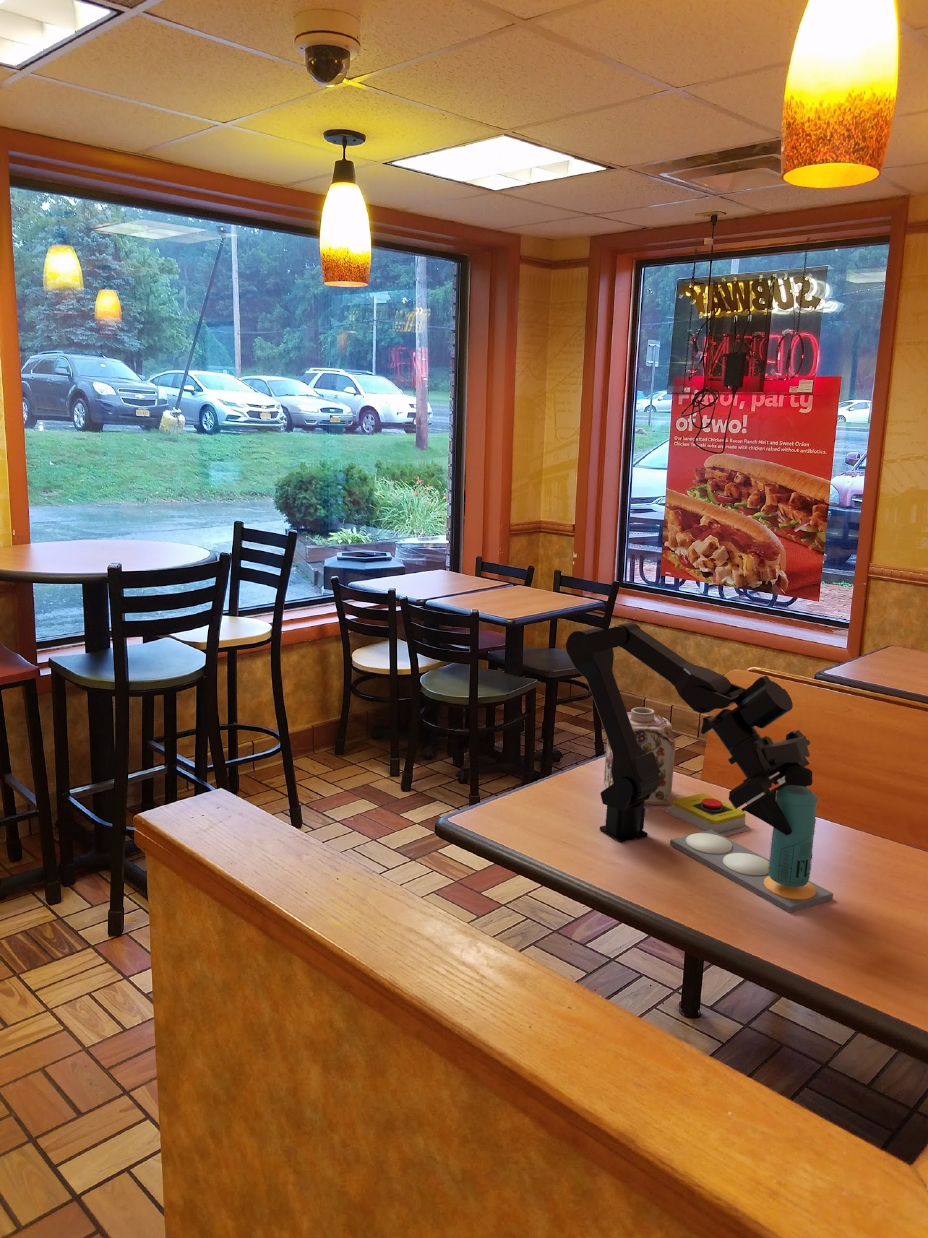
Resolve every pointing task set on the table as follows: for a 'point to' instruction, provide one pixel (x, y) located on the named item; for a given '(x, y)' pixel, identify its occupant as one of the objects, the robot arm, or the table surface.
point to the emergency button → (709, 814)
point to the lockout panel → (748, 870)
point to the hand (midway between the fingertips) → (801, 825)
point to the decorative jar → (651, 750)
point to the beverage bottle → (794, 830)
